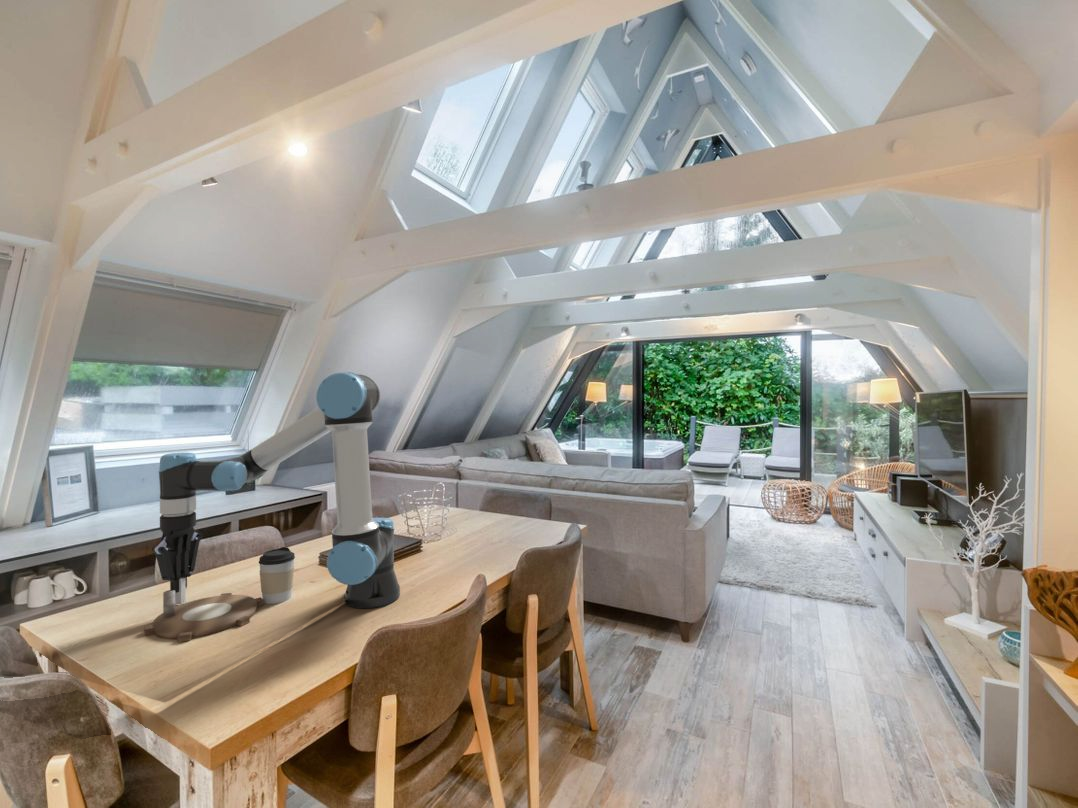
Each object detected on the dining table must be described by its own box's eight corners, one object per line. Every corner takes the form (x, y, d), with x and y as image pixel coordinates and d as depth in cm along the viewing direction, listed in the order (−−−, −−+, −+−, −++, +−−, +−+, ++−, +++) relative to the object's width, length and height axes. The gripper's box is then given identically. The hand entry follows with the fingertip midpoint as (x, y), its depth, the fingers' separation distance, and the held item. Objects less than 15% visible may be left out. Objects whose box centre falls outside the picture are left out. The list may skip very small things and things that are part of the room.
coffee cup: (279, 612, 130) (279, 556, 130) (250, 609, 132) (250, 554, 132) (302, 598, 139) (302, 546, 139) (275, 595, 141) (275, 544, 141)
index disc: (271, 594, 138) (271, 568, 138) (238, 636, 114) (238, 604, 114) (180, 602, 133) (180, 575, 133) (126, 647, 109) (125, 614, 108)
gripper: (186, 506, 131) (187, 591, 132) (141, 518, 118) (142, 613, 119) (211, 507, 130) (211, 593, 131) (168, 520, 117) (169, 615, 118)
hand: (178, 603), depth 125 cm, fingers closed
